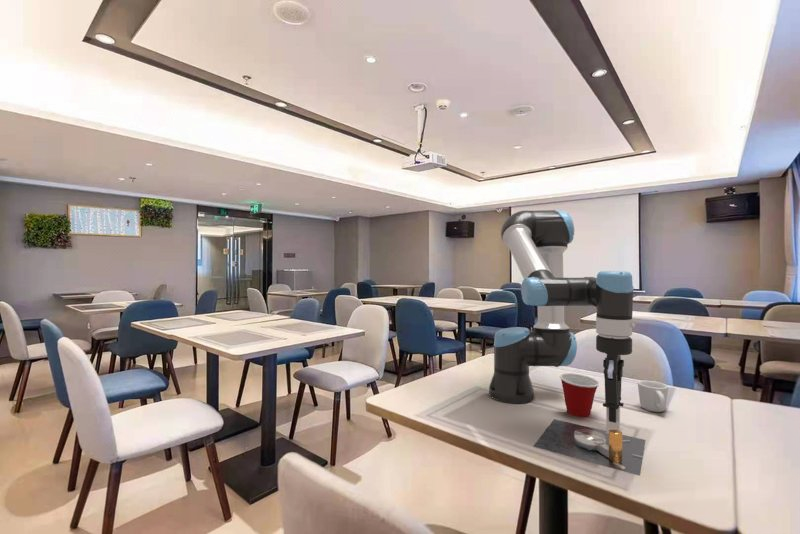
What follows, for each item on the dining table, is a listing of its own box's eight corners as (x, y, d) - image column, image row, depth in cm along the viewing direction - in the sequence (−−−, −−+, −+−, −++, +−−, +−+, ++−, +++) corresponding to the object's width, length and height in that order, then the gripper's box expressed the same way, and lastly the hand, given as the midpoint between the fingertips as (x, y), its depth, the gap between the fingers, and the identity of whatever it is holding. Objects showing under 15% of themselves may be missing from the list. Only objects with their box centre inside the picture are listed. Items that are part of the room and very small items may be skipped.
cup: (677, 418, 113) (677, 391, 113) (647, 416, 115) (648, 390, 114) (660, 405, 124) (660, 381, 123) (633, 403, 125) (633, 379, 125)
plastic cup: (592, 429, 106) (592, 386, 106) (553, 418, 113) (553, 378, 113) (604, 418, 113) (605, 377, 113) (567, 408, 121) (567, 370, 121)
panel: (533, 452, 93) (533, 445, 93) (553, 424, 109) (554, 418, 109) (639, 482, 80) (640, 474, 80) (645, 445, 96) (645, 439, 96)
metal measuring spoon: (567, 438, 96) (567, 414, 96) (591, 435, 98) (591, 411, 98) (606, 464, 84) (607, 436, 84) (633, 460, 85) (633, 432, 85)
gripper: (629, 342, 84) (628, 449, 84) (634, 333, 94) (633, 428, 94) (591, 338, 88) (590, 439, 88) (600, 330, 99) (599, 420, 99)
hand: (613, 433), depth 91 cm, fingers closed
